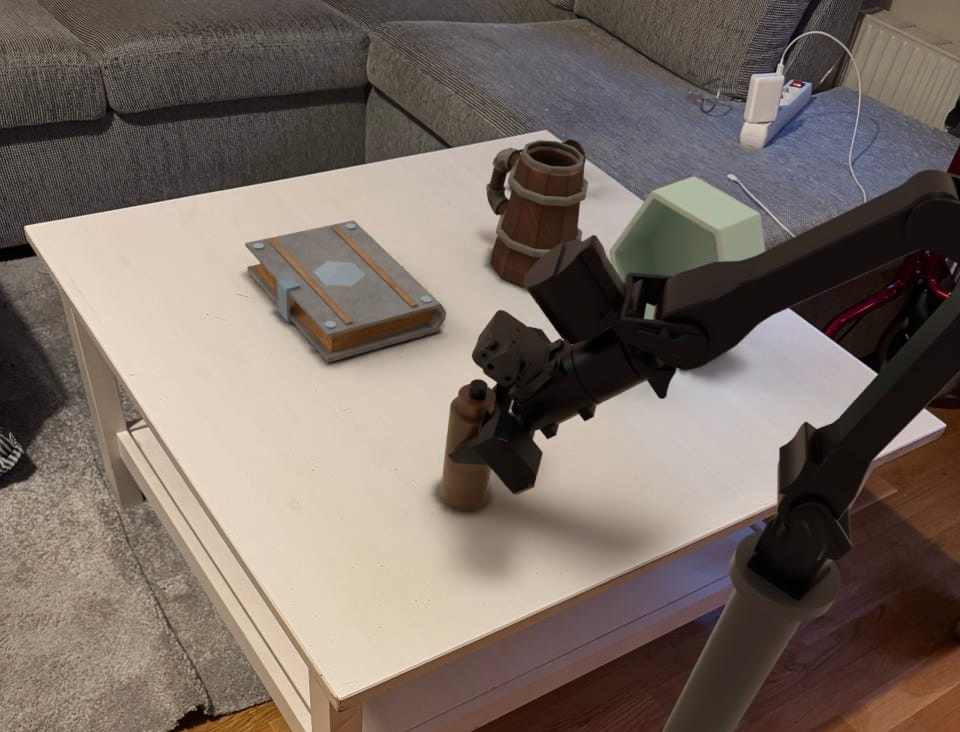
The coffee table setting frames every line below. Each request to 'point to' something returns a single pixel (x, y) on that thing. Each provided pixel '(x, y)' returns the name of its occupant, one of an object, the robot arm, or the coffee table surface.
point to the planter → (686, 232)
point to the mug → (535, 204)
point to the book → (343, 290)
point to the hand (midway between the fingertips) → (456, 442)
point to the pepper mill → (464, 481)
